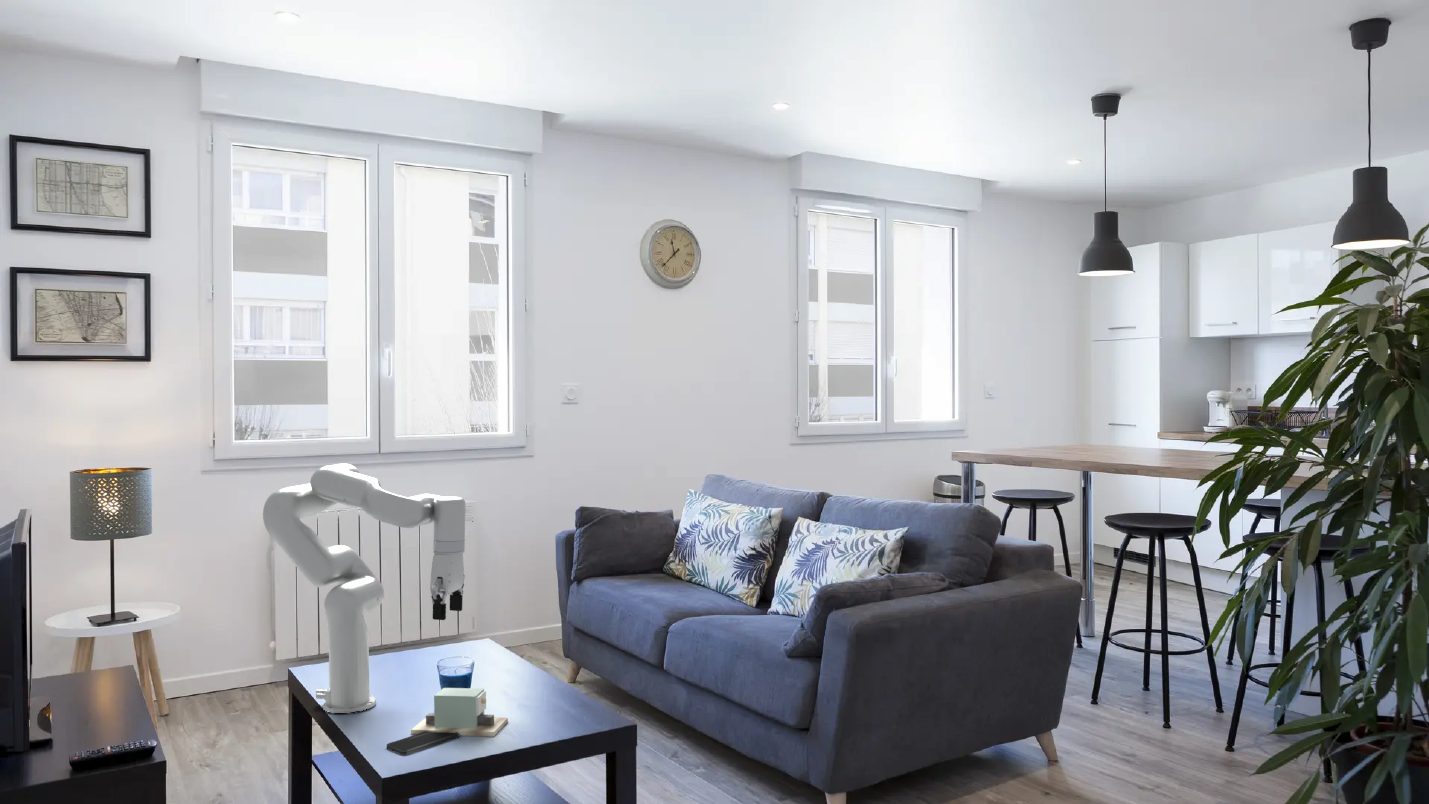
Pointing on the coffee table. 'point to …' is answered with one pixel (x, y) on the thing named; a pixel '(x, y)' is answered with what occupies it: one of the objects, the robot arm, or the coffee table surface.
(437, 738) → the phone
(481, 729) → the board
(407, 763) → the coffee table surface
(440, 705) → the mint green box
